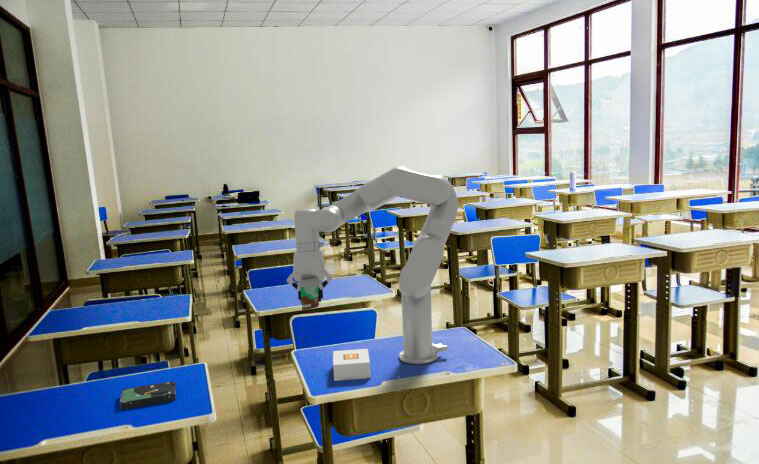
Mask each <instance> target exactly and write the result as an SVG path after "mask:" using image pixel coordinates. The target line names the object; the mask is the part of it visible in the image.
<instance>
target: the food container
mask: <svg viewBox="0 0 759 464" xmlns="http://www.w3.org/2000/svg"><path fill="white" fill-rule="evenodd" d="M320 282H321V281H320V280H319V279H318V277H316V278H313V279H308V280H300V290H301V300H300V303H301V302H302V303H301V311H302V310H304V311H307V310H312V309H316V308H318V307H319V306H320V302H319V295H318V291H319V283H320Z"/></svg>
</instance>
